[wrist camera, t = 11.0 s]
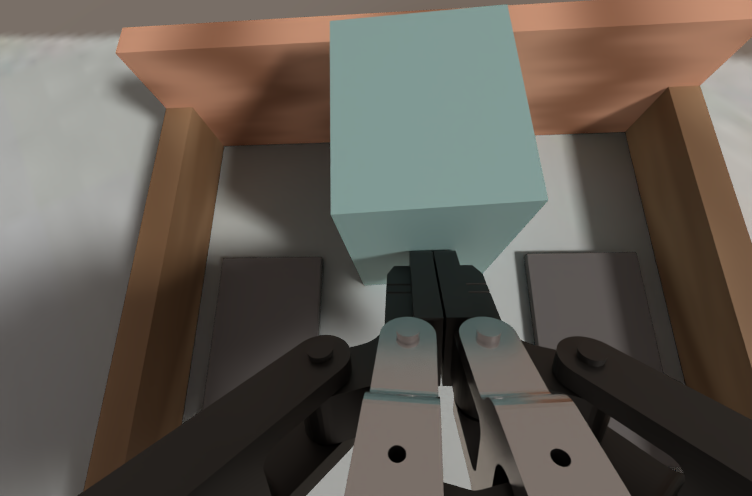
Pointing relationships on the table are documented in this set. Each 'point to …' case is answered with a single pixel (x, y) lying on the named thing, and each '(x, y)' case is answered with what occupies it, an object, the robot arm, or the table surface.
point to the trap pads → (546, 293)
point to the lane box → (549, 116)
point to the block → (430, 138)
